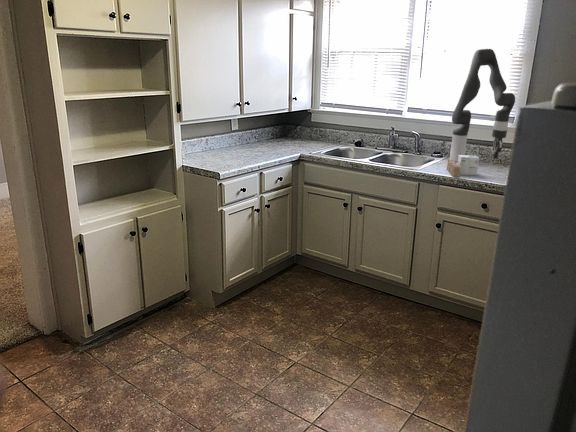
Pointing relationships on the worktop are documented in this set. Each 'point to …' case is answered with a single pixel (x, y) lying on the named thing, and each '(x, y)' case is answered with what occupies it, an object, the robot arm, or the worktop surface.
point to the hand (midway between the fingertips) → (495, 158)
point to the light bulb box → (468, 164)
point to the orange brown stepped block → (453, 168)
